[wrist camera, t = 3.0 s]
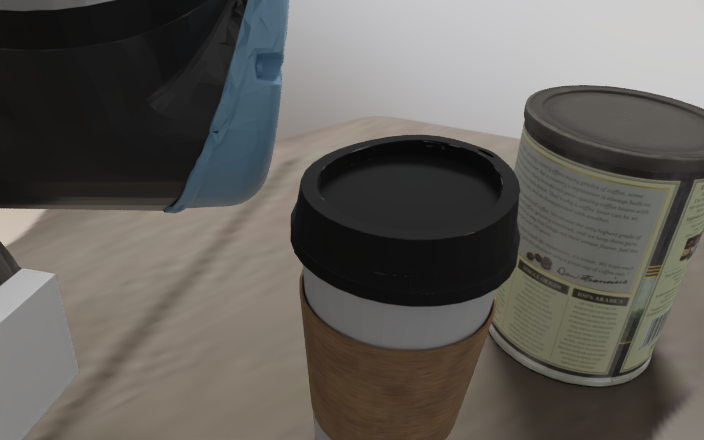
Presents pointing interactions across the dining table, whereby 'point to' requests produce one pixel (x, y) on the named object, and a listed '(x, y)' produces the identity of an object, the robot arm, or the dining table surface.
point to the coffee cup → (400, 280)
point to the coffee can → (600, 230)
